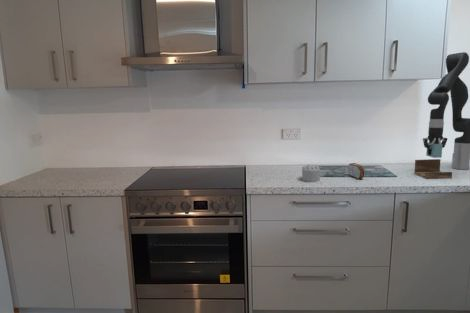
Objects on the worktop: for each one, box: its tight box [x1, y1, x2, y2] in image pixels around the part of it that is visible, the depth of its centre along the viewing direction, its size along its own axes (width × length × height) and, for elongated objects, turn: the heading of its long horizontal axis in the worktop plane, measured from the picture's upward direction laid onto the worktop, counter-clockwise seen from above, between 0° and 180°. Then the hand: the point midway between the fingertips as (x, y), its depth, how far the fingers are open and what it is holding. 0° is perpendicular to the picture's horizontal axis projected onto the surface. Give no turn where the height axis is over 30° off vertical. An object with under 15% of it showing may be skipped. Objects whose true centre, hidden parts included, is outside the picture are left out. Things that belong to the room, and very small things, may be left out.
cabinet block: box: [425, 143, 443, 159], centre depth 200 cm, size 8×4×8 cm, turn 0°
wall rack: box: [413, 158, 453, 180], centre depth 202 cm, size 14×15×9 cm
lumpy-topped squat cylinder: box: [301, 164, 321, 183], centre depth 203 cm, size 10×13×9 cm
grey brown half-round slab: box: [348, 162, 365, 180], centre depth 205 cm, size 15×3×8 cm, turn 9°
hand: (433, 154), depth 201 cm, fingers closed on cabinet block, 4 cm apart
